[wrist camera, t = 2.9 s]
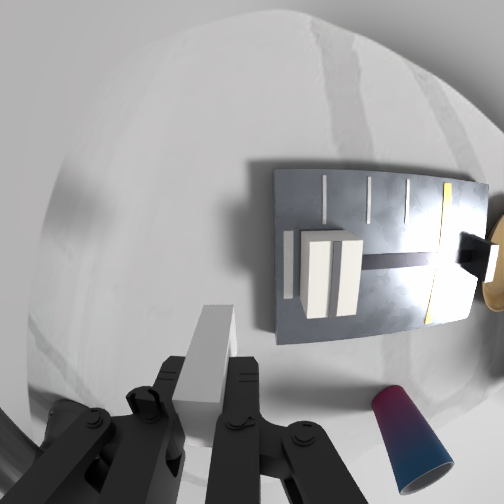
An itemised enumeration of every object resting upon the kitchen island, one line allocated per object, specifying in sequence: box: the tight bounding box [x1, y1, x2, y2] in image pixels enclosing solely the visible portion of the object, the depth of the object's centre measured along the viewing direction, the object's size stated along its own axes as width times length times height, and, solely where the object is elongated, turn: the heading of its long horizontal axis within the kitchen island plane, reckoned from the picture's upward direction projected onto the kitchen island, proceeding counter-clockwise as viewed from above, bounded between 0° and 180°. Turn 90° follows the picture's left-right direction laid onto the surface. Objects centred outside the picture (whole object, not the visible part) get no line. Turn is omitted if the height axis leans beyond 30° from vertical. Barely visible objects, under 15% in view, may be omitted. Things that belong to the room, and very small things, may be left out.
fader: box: [300, 230, 363, 319], centre depth 21 cm, size 4×6×4 cm, turn 2°
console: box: [273, 169, 499, 345], centre depth 23 cm, size 24×16×5 cm, turn 92°
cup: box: [372, 386, 454, 495], centre depth 24 cm, size 7×7×15 cm
